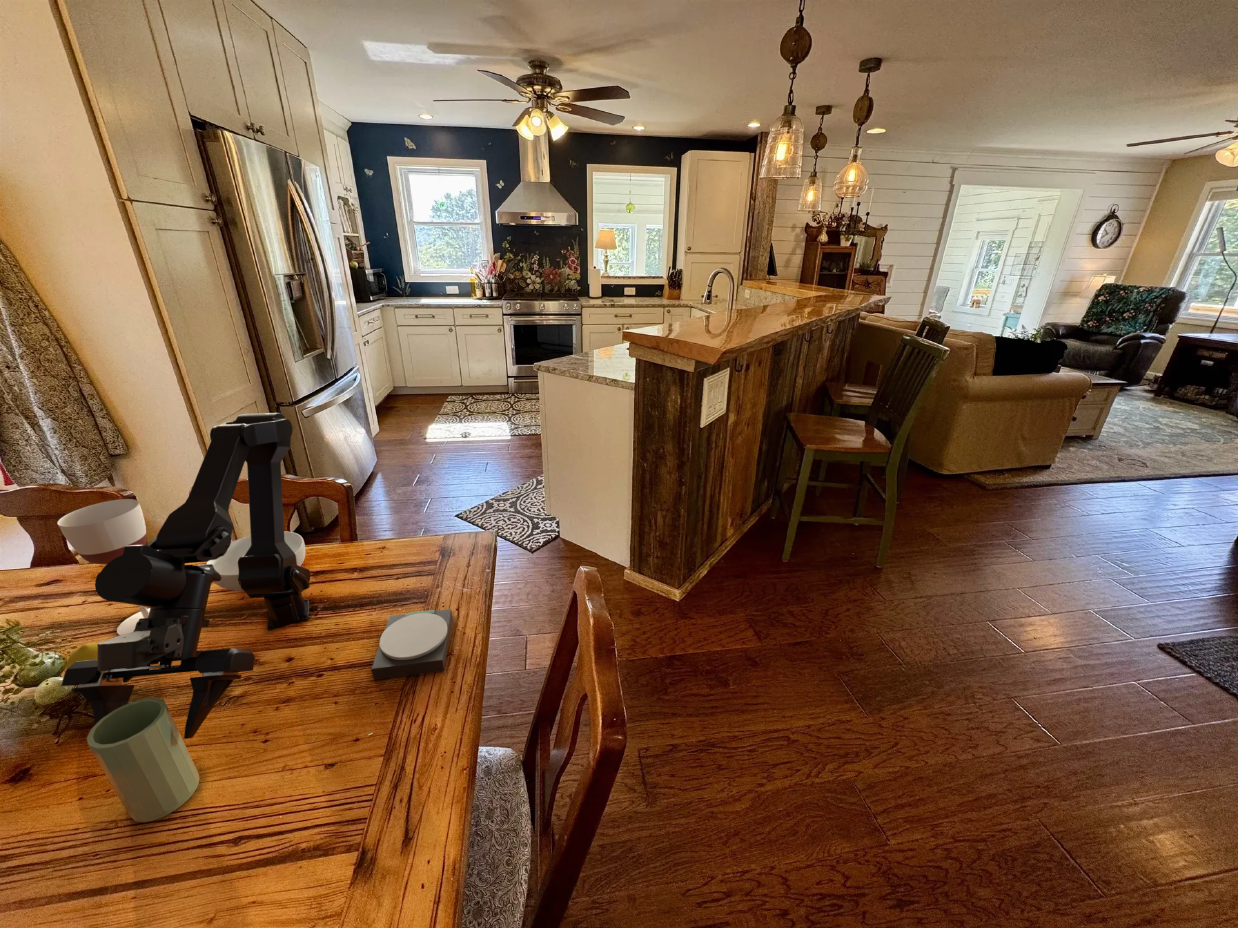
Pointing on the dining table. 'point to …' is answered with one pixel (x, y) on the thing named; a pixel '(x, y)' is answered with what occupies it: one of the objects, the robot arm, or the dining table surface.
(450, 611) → the scale
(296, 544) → the cereal bowl
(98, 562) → the wineglass
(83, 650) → the lemon
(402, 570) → the dining table surface
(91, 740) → the tumbler
